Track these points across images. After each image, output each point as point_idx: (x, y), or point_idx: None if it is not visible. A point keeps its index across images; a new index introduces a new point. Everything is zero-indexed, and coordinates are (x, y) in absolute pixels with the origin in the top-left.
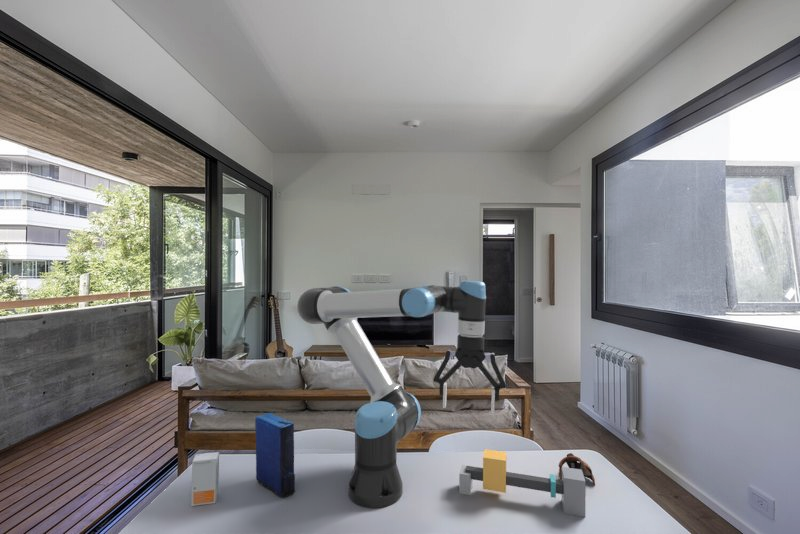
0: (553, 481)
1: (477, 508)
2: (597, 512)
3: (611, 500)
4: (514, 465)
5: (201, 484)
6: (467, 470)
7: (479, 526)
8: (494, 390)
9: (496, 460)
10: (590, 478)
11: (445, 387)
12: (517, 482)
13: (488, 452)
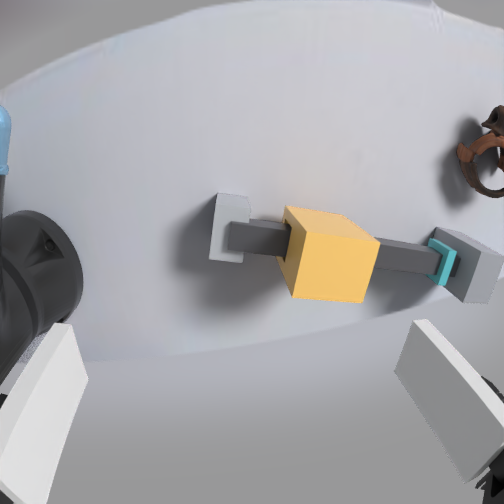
0: (443, 282)
1: (255, 290)
2: None
3: (499, 215)
4: (375, 74)
5: None
6: (234, 249)
7: (256, 341)
8: (475, 475)
9: (334, 299)
10: (501, 151)
11: (42, 502)
12: None
13: (317, 256)
